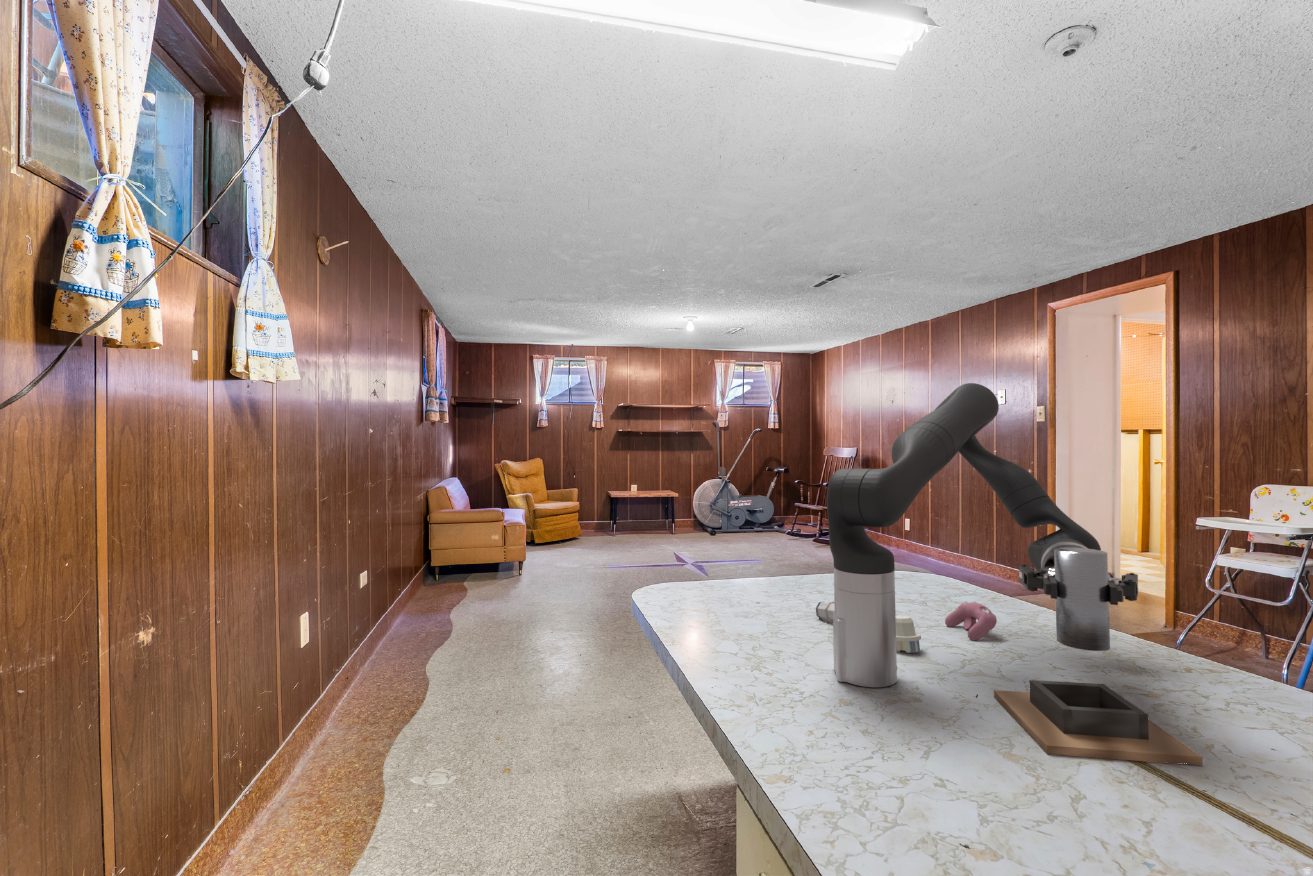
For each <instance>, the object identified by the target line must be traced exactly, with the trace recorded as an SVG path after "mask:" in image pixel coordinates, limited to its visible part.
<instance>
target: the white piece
mask: <svg viewBox="0 0 1313 876" xmlns="http://www.w3.org/2000/svg"><path fill="white" fill-rule="evenodd" d="M834 610H835V605H834V601H819V602H818V604H816V607H815V615H816V616H817V617H818V618H819V620H822V619H823V621H825V620H826V622H829V624H833V611H834ZM921 639H922V635H921V634H920V633H918V632H916V628H915V623H914V620H913V619H912V617H911V616H910V615H909V616H908V615H896V653H897V652H899V653H900V652H901V651H905V653H906V654H907V653H917V652H920V651H921V647H920V646H921V645H920V640H921Z"/></svg>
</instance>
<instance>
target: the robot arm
mask: <svg viewBox="0 0 1313 876" xmlns="http://www.w3.org/2000/svg"><path fill="white" fill-rule="evenodd" d="M999 409H1000V408H999V400H998V398H997V397H996V395H995V393H994V392H993V391H992V390H991V389H990V388H988V387H987V386H985V385H983V384H980V383H977V382H976V383H975V382H967V383H963V384H961V385H959V386H957V387H956V388H955V389H954V390H953V391H952V392H951V393H950V394H949V395H948V396H947V397H946V398H945V399H944V400H942V401H941V402H940V403H939V404H938V405H937V406H936V407H935V409H934V410H933V411H931V412H929V413H928V414H926V415H925V416H923V417H921V418H920V419H919V420H917V421H916V422H914V423H913V424H912V425H910V426H909V427H907V428H906V429H905V430H904V431H903V432H901V433H899V435H898V436H897V437H896V439H895V440H894V442H893V444H892V447H891V453H890V454H891V460H892V463H893V464H891V465H889V466H888V467H887V466H886V467H884V468H840V469H838V470H836V471H834V472H833V474H832V475H831V477H830V478H829V481H828V485H827V489H826V511H827V512H826V513H827V523H828V525H827V526H828V540H829V549H830V552H831V554H832V559H833V589H834V590H833V591H834V592H833V594H834V595H833V596H834V599H833V600H834V601H833V602H834V605H835V610H834V611H833V623H832V633H833V635H832V636H833V637H832V638H833V670H834V672H835V675H836V679H837V681H838V682H841V683H849V684H851V685H855V686H859V687H865V688H884V687H885V688H886V687H889V686H892V685H894V684H895V683H897V682H898V664H897V661H898V660H897V651H896V616H897V615H896V579H895V578H896V577H895V576H896V574H895V569H896V568H895V563H896V562H895V556H894V553H893V552H892V551H891V550H890V549H888V548H886V547H884V546H883V545H881V544H879V543H877V542H876V541H874V540H873V539H872V538H871V537H870V536H869V535H868V533H866V530H865V528H866V527H867V528H887V527H891V526H892V525H894V524H896V523H897V522H898V521H899V520H901V517H903V516H904V514H905V513H906V511H907V510H908V509H909V507H910V506H911V504H912V503H913V501H914V500H915V499H916V498H917V496H918V495H919V494H920V492H921V491H922V490H923V489H924V487H925V486H927V484H928V483H929V482H930V481H931V480H932V478H934V477H935V476H936V475H937V474H938V473H939V472H940V471H942V470H943V468H945V467H946V466H947V464H949V463H950V462H951V461H952V460H953V458H954V457H955V456H957V453H959V454H960V456H962V457H963V458H964V460H965V461H967V463H968V464H969V465H971V467H973V469H974V470H976V472H978V473H979V475H980V476H981V477H982V478H983V479H984V480H985V481H986V483H987V484H988V485H989V486H990V487H991V489H992V490H993V491H994V493H995V494H996V496H997V497H998V498H999V500H1000V501H1001V503H1002V504H1003V505H1004V507H1005V508H1006V510H1007V512H1009V514H1010V515H1011V516H1012V519H1013V520H1014V521H1015V522H1016V524H1018V526H1019V527H1020V528H1023V529H1030V528H1031V529H1032V528H1036V527H1039V526H1043V525H1052V526H1055V527H1058V530H1055V531H1053V532H1051V533H1049V534H1047V535H1044V536H1043V537H1040V538H1038V539H1036V540H1034V541H1032V542H1031V543H1030V544H1029V545H1028V547H1027V556H1028V557H1027V558H1028V560H1029V561H1030V563H1031V565H1032V566H1033V567H1032V566H1029V565H1026V564H1019V565H1018V572H1019V573H1018V574H1019V575H1018V577H1019V583H1020V584H1021V585H1022V586H1023V587H1024V588H1025V589H1026V590H1027V591H1030V592H1037V591H1038V589H1041V590H1042V593H1043V594H1045V595H1046V596H1047V595H1049V597H1050V599H1052V600H1053V599H1055V600H1056V599H1057V581H1056V579H1055V561H1054V549H1055V548H1066V547H1067V548H1086V549H1094V550H1100V551H1102V548H1101V545H1100V543H1099V541H1098V540H1097V539H1096V537H1094V535H1092V534H1091V533H1090V532H1089V531H1088V530H1087V529H1085V528H1084V527H1083V526H1081V525H1080V524H1078V523H1077V522H1076V521H1074V520H1073V519H1072V518H1070V517H1069V516H1068V515H1067V514H1066V513H1065V512H1063V510H1061V509H1060V508H1059V507H1058V505H1057V504H1056V503H1055V502H1054V500H1052V498H1051V497H1050V495H1048V493H1047V492H1046V491H1045V489H1044V487H1043V486H1042V485H1041V484H1040V482H1039V481H1038V480H1037V478H1036V477H1035V476H1034V475H1033V474H1032V473H1030V472H1029V471H1028V470H1027V469H1025V468H1024V467H1022V466H1021V465H1018V464H1017V463H1014V462H1011V461H1010V460H1008V459H1005V458H1003V457H1000V456H999V455H996V454H994V453H992V452H991V451H989V450H987V449H986V448H985V447H984V446H983V445H982V444H981V443H980V441H979V440H978V438H977V437H976V435H977V434H979V432H980V431H982V429H984V428H985V427H986V426H988V424H990V423H991V422H992V421H993V420H994V419H995V418H996V417H997V415H998V413H999ZM1108 596H1109V605H1114V606H1118V605H1119V603H1123V602H1124V599H1125V600H1126V601H1129V602H1134V601H1137V600H1138V596H1139V575H1138V573H1137V574H1136V573H1134V572H1129V573H1126V574H1121V577H1115V576H1114V575H1113V574H1112V573H1111V572H1109V571H1108Z"/></svg>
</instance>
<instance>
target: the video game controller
mask: <svg viewBox="0 0 1313 876" xmlns="http://www.w3.org/2000/svg"><path fill="white" fill-rule="evenodd" d="M997 621H998V620H997V616H996V614H994V613H993V612H992V611H991V610H990V609H989V607H987V606H985V605H983V604H981V603H978V602H974V601H972V602H968V601H965V600H964V602H963V603H960V605H959V606H957V608H956V609H955V610H953V611H952V612H950V613H949V614H948V615H947V616H946V617H945V619H944V623H945V626H947V627H948V628H954V627H956V626H959V625H960V624H962V623H963V628H964V629H966V630H968V631H967V637H968V639H969V640H971V641H976V640H980V639H982V638H983V637H985V636H986V635H988V634H989V632H990V631H992V630H993V629H995V627H996V625H997Z"/></svg>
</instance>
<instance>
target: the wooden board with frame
mask: <svg viewBox="0 0 1313 876" xmlns="http://www.w3.org/2000/svg"><path fill="white" fill-rule="evenodd" d="M993 698H994V699H995V700H996V701H997V702H998V703H999V704H1000V705H1001V706H1002V708H1003V709H1005V710H1006V712H1007V713H1008V714H1009V715H1010V716H1011V717H1012V718H1013V719H1014V720H1015V722H1017V723H1018V724H1019V725H1020V727H1021V728H1022V729H1023V730H1024V731H1025V732H1026V734H1028V735H1029V736H1030V737H1031V739H1033V740H1034V741H1035V743H1036V744H1037V745H1038V746H1039V747H1040V748H1041V749H1042V751H1044V752H1045V754H1046V755H1055V756H1071V757H1084V758H1095V759H1096V758H1097V759H1109V760H1121V761H1122V760H1123V761H1137V762H1149V763H1162V764H1163V763H1164V764H1173V763H1183V764H1182V765H1186V763H1187V764H1191V765H1190V766H1199V765H1203V766H1204V764H1203V763H1204V762H1203V760H1204V758H1203V756H1202V755H1201V754H1199V753H1198V752H1197V751H1195V750H1193V749H1192V748H1191V747H1189V746H1188V745H1186V744H1185V743H1183V742H1182V741H1180V740H1179V739H1178V738H1177V737H1175V736H1173V735H1172V734H1170V733H1169V732H1168V731H1166V730H1165V729H1163V728H1162V727H1160V726H1159V725H1157V724H1156V723H1155V722H1153V721H1152V720H1150V719H1149V714H1148V713H1146V712H1145V711H1144V710H1142V709H1141V708H1139V707H1138V706H1136V704H1133V703H1132V702H1130V701H1129V700H1127V699H1126V698H1125V697H1123V696H1121V695H1120V694H1119V693H1117V692H1116V691H1114V690H1113V689H1111V687H1109V686H1107V685H1106V684H1105V683H1093V682H1092V683H1089V682H1088V683H1087V682H1074V681H1073V682H1072V681H1071V682H1070V681H1058V680H1057V681H1055V680H1054V681H1053V680H1037V679H1036V680H1035V679H1034V680H1033V679H1030V680H1029V691H1016V690H1015V691H1012V690H1001V689H1000V690H997V689H996V690H995V689H993ZM1166 762H1167V763H1166ZM1184 763H1185V764H1184ZM1192 764H1193V765H1192Z"/></svg>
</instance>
